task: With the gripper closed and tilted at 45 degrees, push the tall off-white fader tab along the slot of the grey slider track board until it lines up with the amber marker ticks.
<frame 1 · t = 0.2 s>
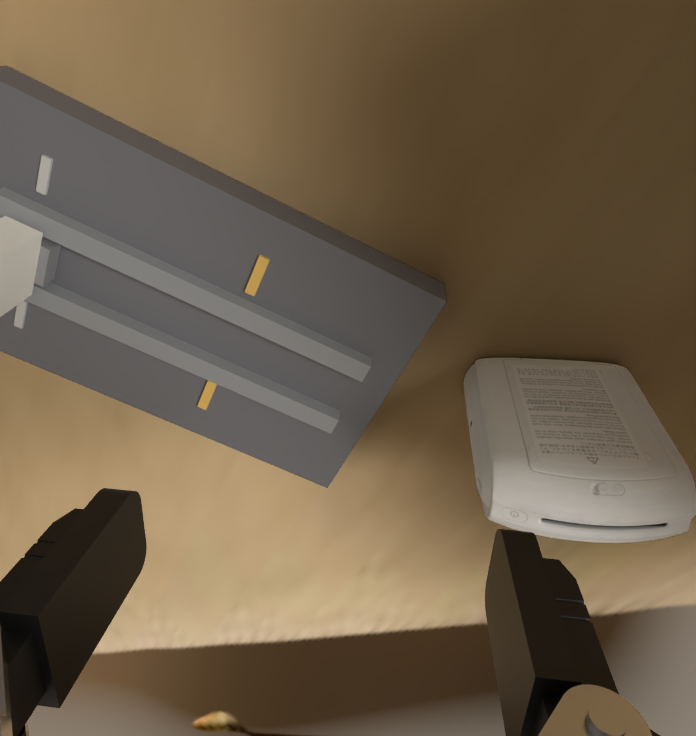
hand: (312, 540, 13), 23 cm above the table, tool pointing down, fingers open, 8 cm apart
photo printer: (541, 381, 36), on the table
grey slider track board: (197, 299, 35), on the table
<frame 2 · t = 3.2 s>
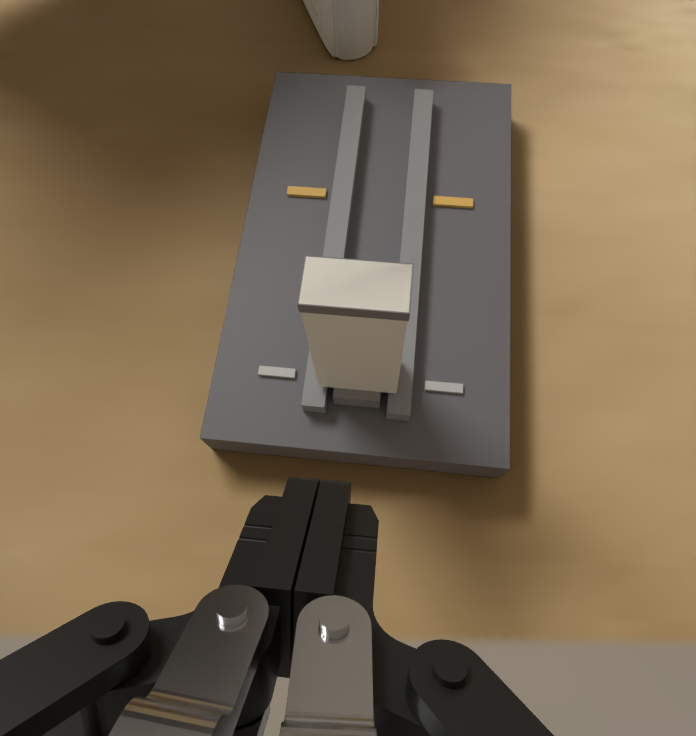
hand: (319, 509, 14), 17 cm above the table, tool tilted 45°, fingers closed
photo printer: (336, 19, 44), on the table
fader: (358, 340, 25), point 8 cm above the table, slide at 0.0 cm
grey slider track board: (374, 261, 36), on the table
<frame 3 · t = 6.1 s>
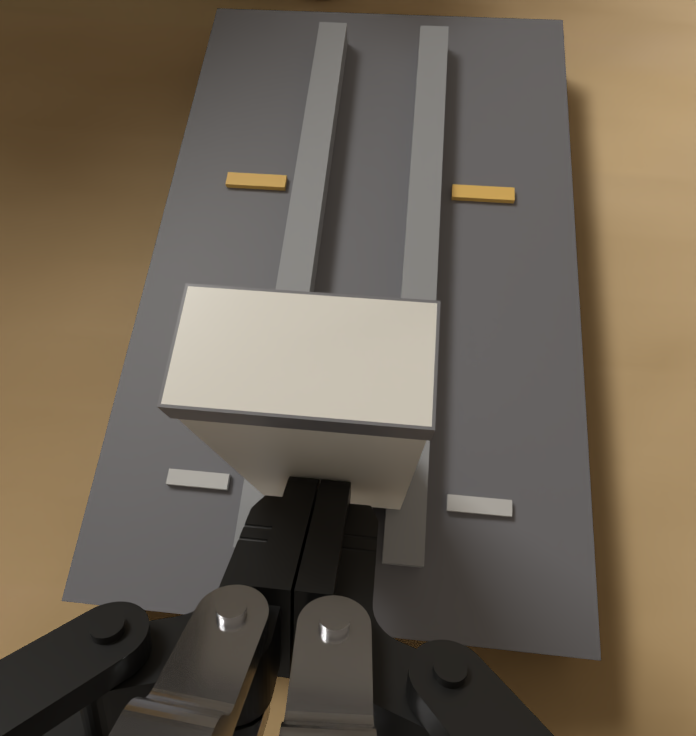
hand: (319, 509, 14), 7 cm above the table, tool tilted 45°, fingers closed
fader: (326, 437, 13), point 8 cm above the table, slide at 0.5 cm, touching gripper
grey slider track board: (362, 286, 24), on the table
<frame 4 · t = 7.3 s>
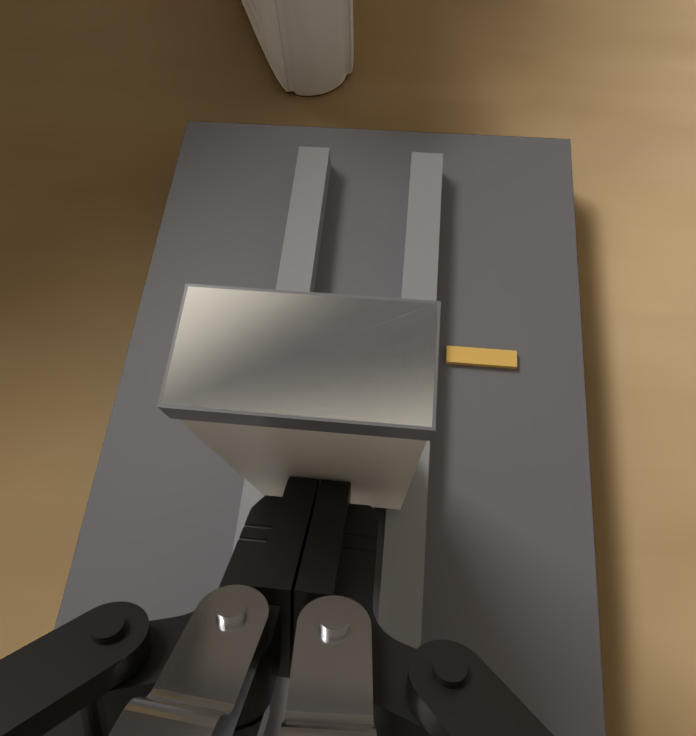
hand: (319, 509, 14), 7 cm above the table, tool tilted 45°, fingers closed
photo printer: (293, 33, 30), on the table
fader: (326, 437, 13), point 8 cm above the table, slide at 7.4 cm, touching gripper
grey slider track board: (346, 448, 21), on the table
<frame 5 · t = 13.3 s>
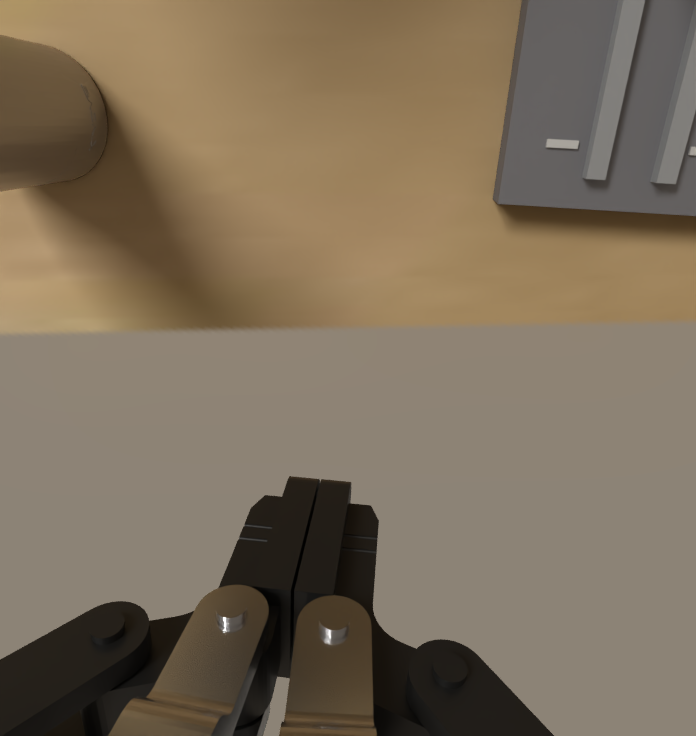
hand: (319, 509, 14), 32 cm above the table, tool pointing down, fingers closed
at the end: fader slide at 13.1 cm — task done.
